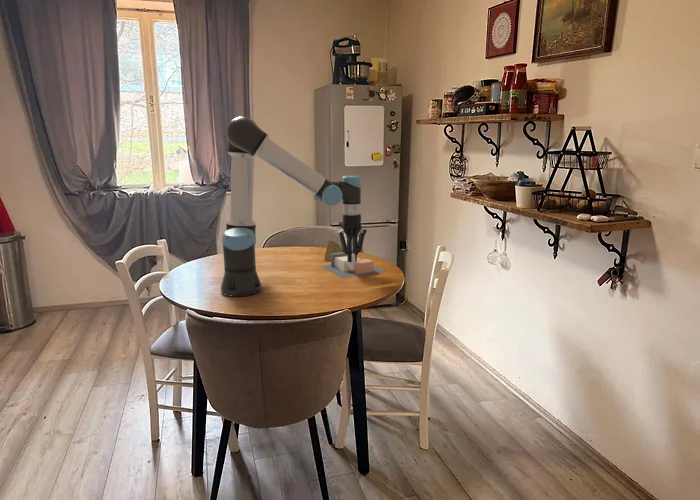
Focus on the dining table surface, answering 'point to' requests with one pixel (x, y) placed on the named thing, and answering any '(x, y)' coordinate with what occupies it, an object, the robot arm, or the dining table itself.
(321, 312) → the dining table surface
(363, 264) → the stub
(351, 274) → the mat
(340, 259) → the clamped cream block
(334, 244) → the rock
